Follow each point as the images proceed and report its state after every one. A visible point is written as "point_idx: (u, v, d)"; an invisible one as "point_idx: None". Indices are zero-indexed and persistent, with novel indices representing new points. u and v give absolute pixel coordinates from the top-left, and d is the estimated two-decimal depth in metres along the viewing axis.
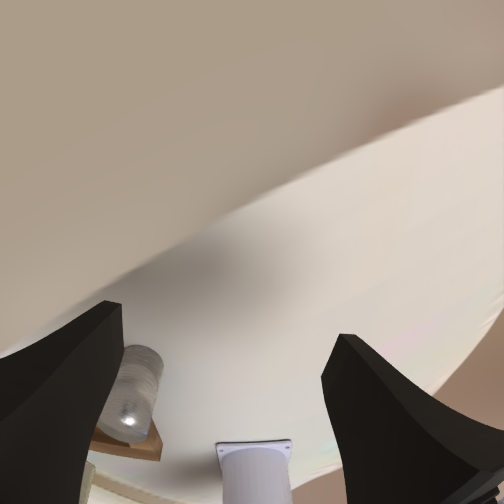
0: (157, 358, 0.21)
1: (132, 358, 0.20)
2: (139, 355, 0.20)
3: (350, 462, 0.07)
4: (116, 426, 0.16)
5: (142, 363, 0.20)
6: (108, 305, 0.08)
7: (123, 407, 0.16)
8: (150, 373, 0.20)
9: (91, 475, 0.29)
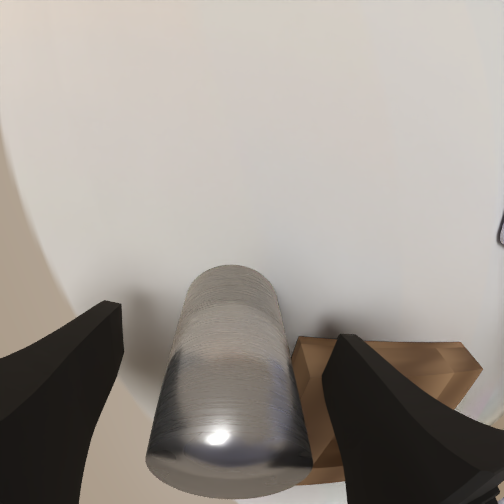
0: (213, 272, 0.11)
1: None
2: (183, 306, 0.10)
3: (350, 462, 0.07)
4: (215, 476, 0.05)
5: (185, 309, 0.09)
6: (108, 305, 0.08)
7: (153, 427, 0.05)
8: (202, 302, 0.09)
9: None
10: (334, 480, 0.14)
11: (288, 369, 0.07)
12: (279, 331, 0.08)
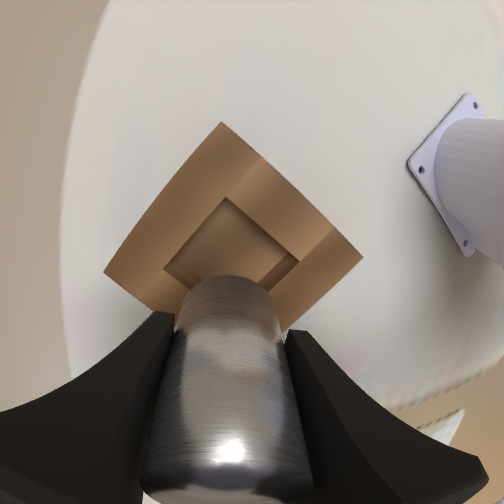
0: (207, 284, 0.10)
1: None
2: (177, 321, 0.10)
3: None
4: (213, 499, 0.05)
5: (178, 325, 0.09)
6: (163, 315, 0.08)
7: (145, 451, 0.05)
8: (194, 317, 0.08)
9: None
10: (175, 320, 0.16)
11: (285, 386, 0.06)
12: (276, 344, 0.08)
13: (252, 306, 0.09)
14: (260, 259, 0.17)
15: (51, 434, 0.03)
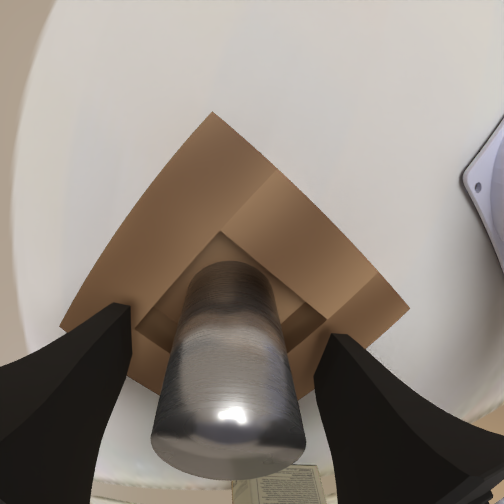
0: (211, 268, 0.11)
1: None
2: None
3: (341, 463, 0.07)
4: (216, 455, 0.06)
5: (185, 304, 0.10)
6: (118, 307, 0.08)
7: (157, 409, 0.06)
8: (200, 296, 0.10)
9: (317, 483, 0.17)
10: (156, 388, 0.11)
11: (280, 353, 0.08)
12: (273, 319, 0.09)
13: (252, 287, 0.10)
14: None
15: None
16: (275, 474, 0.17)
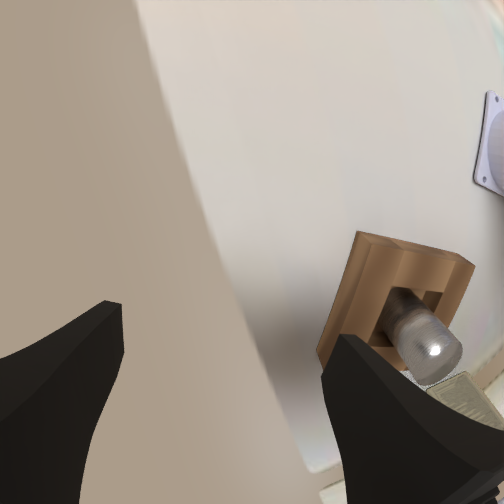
0: None
1: (383, 328, 0.20)
2: (380, 320, 0.20)
3: (350, 462, 0.07)
4: (436, 368, 0.15)
5: (385, 321, 0.19)
6: (108, 305, 0.08)
7: (411, 364, 0.15)
8: (393, 315, 0.19)
9: (471, 381, 0.25)
10: None
11: (437, 319, 0.16)
12: (425, 307, 0.18)
13: (409, 298, 0.19)
14: None
15: None
16: (445, 388, 0.25)
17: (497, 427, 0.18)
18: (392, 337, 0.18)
